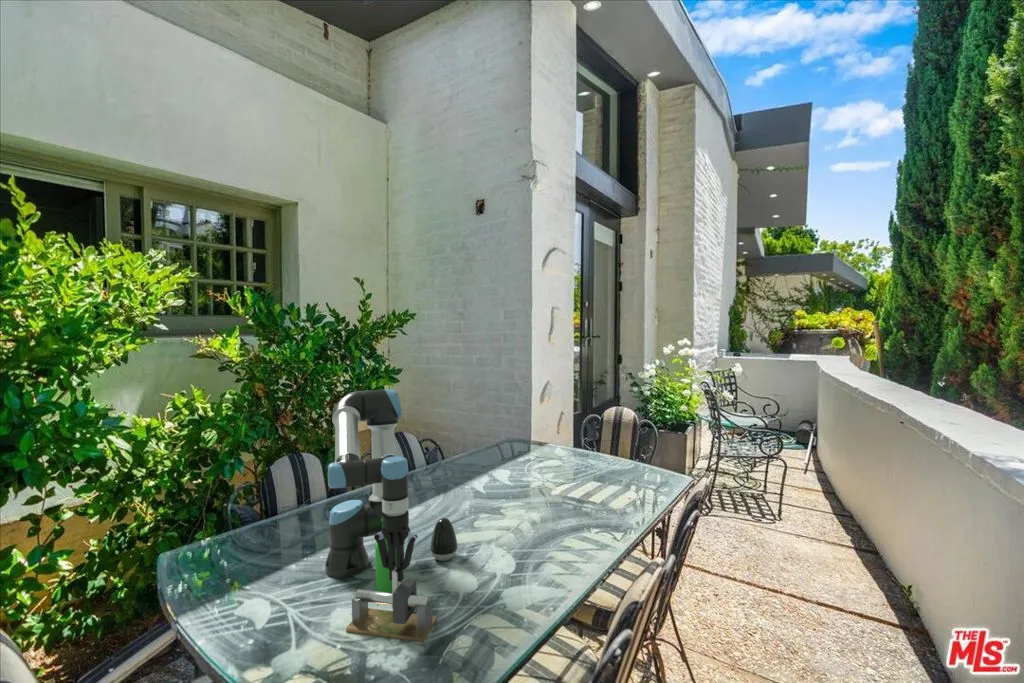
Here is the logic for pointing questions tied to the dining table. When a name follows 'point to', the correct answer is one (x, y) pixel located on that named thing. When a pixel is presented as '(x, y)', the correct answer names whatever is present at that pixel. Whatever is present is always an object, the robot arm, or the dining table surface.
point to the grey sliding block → (403, 600)
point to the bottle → (382, 573)
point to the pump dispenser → (443, 540)
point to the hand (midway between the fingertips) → (396, 591)
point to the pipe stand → (390, 617)
